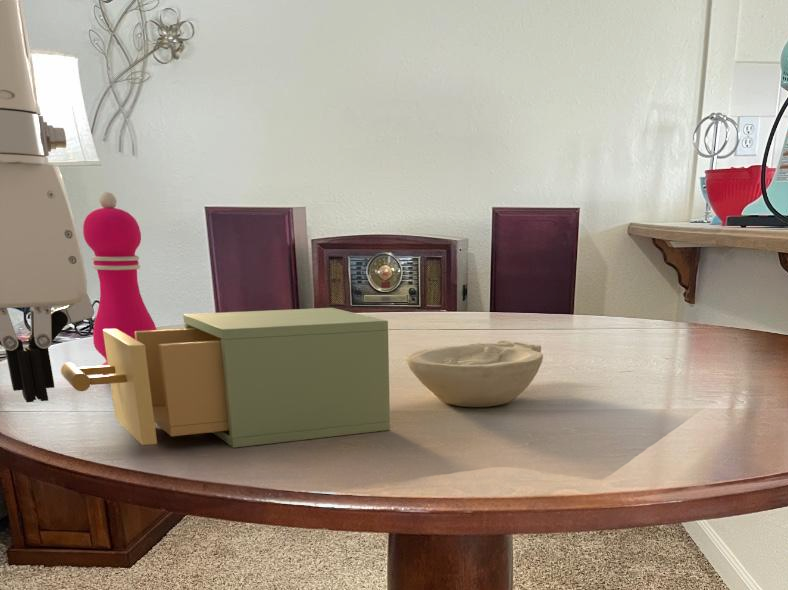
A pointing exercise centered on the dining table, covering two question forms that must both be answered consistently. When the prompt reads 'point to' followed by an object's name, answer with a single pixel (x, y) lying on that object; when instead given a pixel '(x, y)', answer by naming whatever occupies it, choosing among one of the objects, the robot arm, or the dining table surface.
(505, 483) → the dining table surface
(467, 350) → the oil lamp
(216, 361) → the drawer
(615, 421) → the dining table surface
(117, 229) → the pepper mill
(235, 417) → the cabinet
